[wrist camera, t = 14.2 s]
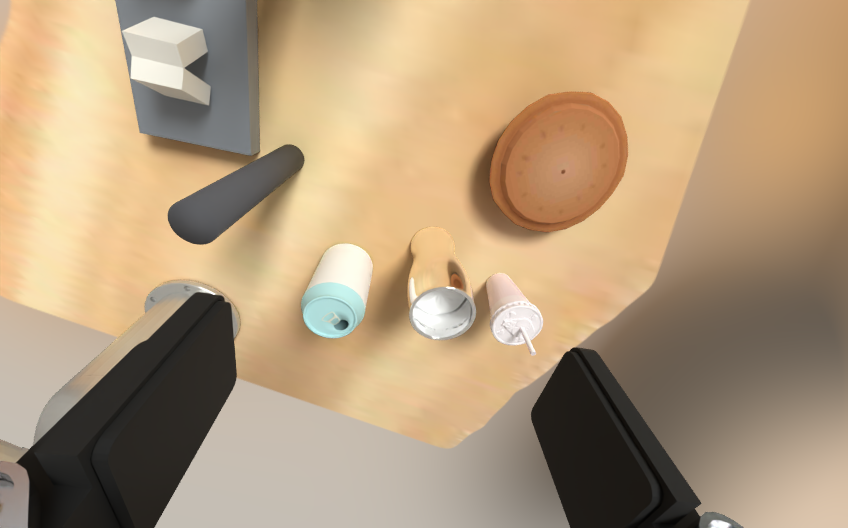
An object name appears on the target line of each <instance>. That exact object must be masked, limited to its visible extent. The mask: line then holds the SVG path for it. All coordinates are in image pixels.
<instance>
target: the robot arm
mask: <svg viewBox="0 0 848 528" xmlns="http://www.w3.org/2000/svg"><path fill="white" fill-rule="evenodd" d="M239 329H240V317H239V314H238V312H237V310H236V308H235V306H234V305H233V304H232V303H231V301H230V300H229V299H228V298H227V297H225V296H224V295H223V294H222V293H220V292H219V291H217V290H216V289H214V288H212V287H210V286H208V285H205V284H202V283H199V282H195V281H190V280H173V281H168V282H165V283H163V284H161V285H159V286H157V287H156V288H155V289H154V290H153V291H151V292H150V294H149V295H148V296H147V298H146V301H145V314H144V315H143V316H142V317H141V318H139V319H138V320H137V321H136V322H135V323H134V324H133V325H132V326H130V327H129V328H128V329H127V330H126V331H125V332H124V333H123V334H121V335H120V336H119V337H118V338H117V339H116V340H115V341H114V342H112V344H110V345H109V346H108V347H107V348H106V349H105V350H104V351H102V352H101V353H100V354H99V355H98V356H97V357H96V358H95V359H93V360H92V361H91V362H90V363H89V364H88V365H87V366H86V367H85V368H83V369H82V370H81V371H80V372H79V373H78V374H77V375H75V376H74V377H73V378H72V379H71V380H70V381H69V382H68V383H67V384H65V385H64V386H63V387H62V388H61V389H60V390H59V391H58V392H57V393H56V394H55V395H54V396H53V397H52V398H51V399H50V400H49V402H48V403H47V404H46V406H45V407H44V409H43V411H42V413H41V415H40V417H39V420H38V423H37V426H36V431H35V436H34V443H33V446H32V447H31V448H30V449H27V448H24V447H22V448H20V447H18V446H15V445H13V444H11V443H8V442H6V441H3V440H1V439H0V528H154V527H155V525H156V524H157V522H158V520H159V518H160V517H161V515H162V513H163V511H164V509H165V508H166V506H167V504H168V502H169V501H170V499H171V497H172V495H173V494H174V492H175V490H176V488H177V487H178V485H179V483H180V481H181V479H182V478H183V476H184V474H185V472H186V471H187V469H188V467H189V465H190V463H191V462H192V460H193V458H194V457H195V455H196V453H197V451H198V449H199V448H200V446H201V444H202V442H203V441H204V439H205V437H206V435H207V433H208V432H209V430H210V428H211V426H212V425H213V423H214V421H215V419H216V418H217V416H218V414H219V412H220V411H221V409H222V407H223V405H224V404H225V402H226V400H227V398H228V397H229V395H230V393H231V391H232V389H233V387H234V385H235V381H236V377H237V373H236V360H235V346H234V338H235V337H236V335H237V333H238V332H239ZM531 419H532V423H533V426H534V428H535V431H536V434H537V437H538V440H539V442H540V445H541V448H542V450H543V453H544V456H545V459H546V461H547V464H548V467H549V470H550V472H551V475H552V478H553V481H554V484H555V486H556V489H557V492H558V495H559V498H560V500H561V503H562V506H563V509H564V511H565V514H566V517H567V520H568V522H569V525H570V528H743V527H742V526H741V525H739V524H738V523H737V522H735V521H734V520H732V519H730V518H728V517H726V516H725V515H722V514H719V513H716V512H705V513H704V514H703V515H702V516H699V515H698V513H697V512H696V510H695V508H696V507H698V506H699V505H700V504H701V502H700V500H699V499H698V498H697V496H696V495H695V493H694V492H693V490H692V489H691V487H690V486H689V484H688V483H687V482H686V480H685V479H684V478H683V476H682V474H681V473H680V472H679V470H678V469H677V467H676V466H675V464H674V463H673V462H672V460H671V458H670V457H669V456H668V454H667V453H666V451H665V450H664V449H663V447H662V446H661V444H660V443H659V441H658V440H657V438H656V437H655V435H654V434H653V432H652V431H651V430H650V428H649V427H648V425H647V424H646V422H645V421H644V420H643V418H642V417H641V415H640V414H639V412H638V411H637V409H636V408H635V406H634V405H633V404H632V402H631V401H630V399H629V398H628V396H627V395H626V393H625V392H624V391H623V389H622V388H621V386H620V385H619V384H618V382H617V381H616V379H615V378H614V376H613V375H612V373H611V372H610V370H609V369H608V367H607V366H606V365H605V363H604V362H603V360H602V359H601V357H600V356H599V355H598V353H597V352H596V351H594V350H590V349H583V348H572V349H571V350H570V351H569V352H566V353H565V354H564V355H563V357H562V359H561V361H560V362H559V364H558V366H557V367H556V369H555V371H554V373H553V374H552V376H551V378H550V380H549V381H548V383H547V385H546V386H545V388H544V390H543V392H542V393H541V395H540V397H539V398H538V400H537V402H536V403H535V405H534V407H533V409H532V412H531Z"/></svg>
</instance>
